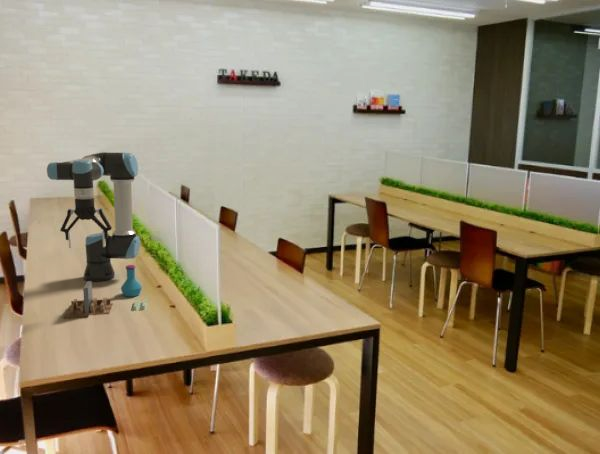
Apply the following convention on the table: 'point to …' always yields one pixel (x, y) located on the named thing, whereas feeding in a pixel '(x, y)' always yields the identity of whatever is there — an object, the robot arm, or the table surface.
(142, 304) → the stand
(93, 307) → the rack
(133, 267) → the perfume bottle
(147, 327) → the table surface
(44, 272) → the table surface
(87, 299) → the thick grey slab
